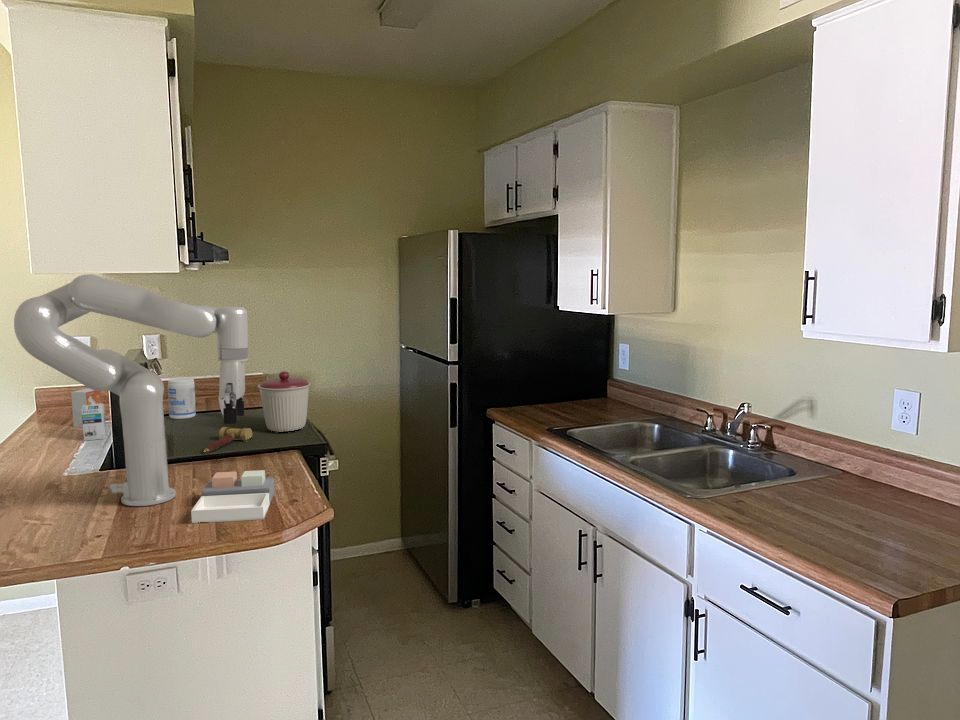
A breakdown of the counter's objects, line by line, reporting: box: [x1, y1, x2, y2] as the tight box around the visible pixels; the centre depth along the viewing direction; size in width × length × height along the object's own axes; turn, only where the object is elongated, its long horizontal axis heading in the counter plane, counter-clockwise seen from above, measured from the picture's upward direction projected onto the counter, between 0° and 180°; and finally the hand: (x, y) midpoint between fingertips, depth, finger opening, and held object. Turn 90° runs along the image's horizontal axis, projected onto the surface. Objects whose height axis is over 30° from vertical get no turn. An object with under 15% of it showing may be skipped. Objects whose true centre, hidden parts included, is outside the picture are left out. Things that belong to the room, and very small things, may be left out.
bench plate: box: [201, 476, 276, 504], centre depth 182 cm, size 16×9×4 cm, turn 99°
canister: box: [257, 370, 311, 433], centre depth 255 cm, size 18×18×21 cm
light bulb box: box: [81, 402, 107, 442], centre depth 247 cm, size 11×7×11 cm, turn 26°
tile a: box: [211, 471, 238, 488], centre depth 181 cm, size 5×5×2 cm
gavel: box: [202, 426, 253, 453], centre depth 235 cm, size 21×5×10 cm
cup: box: [217, 396, 225, 419], centre depth 277 cm, size 7×10×8 cm
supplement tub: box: [167, 377, 197, 420], centre depth 277 cm, size 10×10×15 cm
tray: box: [190, 493, 271, 524], centre depth 172 cm, size 16×10×3 cm, turn 99°
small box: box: [70, 387, 103, 428], centre depth 265 cm, size 8×6×13 cm
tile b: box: [240, 469, 266, 487], centre depth 182 cm, size 5×5×2 cm
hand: (234, 419), depth 188 cm, fingers open, 9 cm apart
